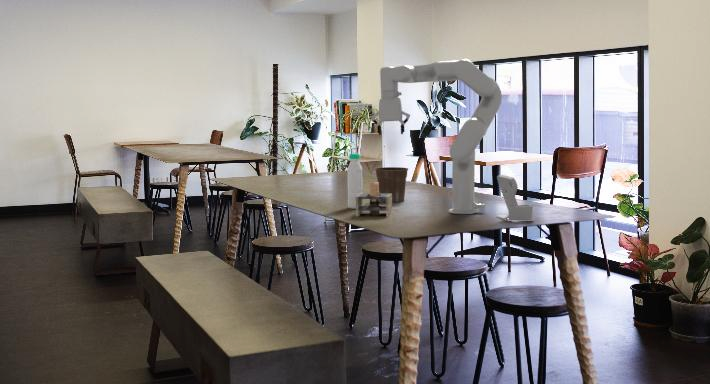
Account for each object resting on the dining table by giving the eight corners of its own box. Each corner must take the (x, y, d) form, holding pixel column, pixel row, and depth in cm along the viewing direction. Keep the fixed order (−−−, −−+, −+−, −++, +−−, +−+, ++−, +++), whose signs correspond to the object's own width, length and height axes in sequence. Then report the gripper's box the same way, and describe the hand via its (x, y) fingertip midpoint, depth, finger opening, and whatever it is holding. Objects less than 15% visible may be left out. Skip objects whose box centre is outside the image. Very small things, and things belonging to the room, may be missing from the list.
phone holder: (534, 221, 334) (535, 176, 332) (511, 222, 332) (511, 177, 330) (517, 215, 351) (517, 173, 349) (494, 217, 349) (494, 174, 347)
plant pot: (415, 201, 405) (415, 168, 403) (388, 204, 396) (388, 170, 394) (395, 198, 418) (394, 166, 417) (368, 201, 409) (368, 168, 408)
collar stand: (392, 212, 367) (391, 193, 366) (388, 216, 355) (388, 196, 354) (360, 212, 369) (360, 193, 369) (356, 216, 358) (355, 196, 357)
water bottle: (354, 206, 391) (353, 153, 388) (366, 207, 386) (365, 153, 384) (344, 208, 386) (343, 154, 383) (356, 209, 381) (355, 154, 378)
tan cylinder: (380, 213, 364) (379, 181, 362) (378, 215, 360) (378, 182, 358) (370, 213, 365) (370, 182, 363) (369, 215, 361) (368, 183, 359)
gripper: (409, 94, 369) (411, 133, 370) (370, 96, 371) (372, 134, 373) (408, 94, 361) (410, 134, 363) (369, 96, 364) (370, 135, 365)
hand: (391, 134), depth 368 cm, fingers open, 9 cm apart
